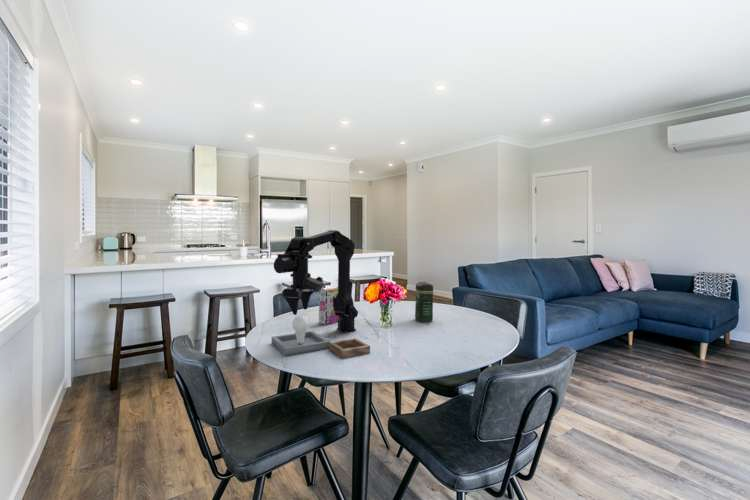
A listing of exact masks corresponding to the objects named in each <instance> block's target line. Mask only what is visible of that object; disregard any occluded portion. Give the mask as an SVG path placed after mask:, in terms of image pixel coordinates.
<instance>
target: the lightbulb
mask: <svg viewBox="0 0 750 500" xmlns="http://www.w3.org/2000/svg"><path fill="white" fill-rule="evenodd" d="M309 325H310V323H309V320H308V318H307V316H306V315H302V314H301V315H299V314H298V315H297V316H295V317H294V318H293V320H292V325H291V326H292V328H293V330H294V332H295V333H296V337H297V343H299V344H302V343H303V342H304V337H305V332H307V329H308V328H309Z"/></svg>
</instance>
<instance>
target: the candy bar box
mask: <svg viewBox="0 0 750 500" xmlns="http://www.w3.org/2000/svg"><path fill="white" fill-rule="evenodd" d="M318 292H319V293H318V294H319V295H318V296H319V298H318V299H319V302H318V305H319V306H318V324H321V325H324V326H327V325H330V324H333V323H338V320H339V316H336V314H335V311H334V307H333V298H334V297H336V296H337V294H338V286H330V287H322V288H321V290H320V291H318Z"/></svg>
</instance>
